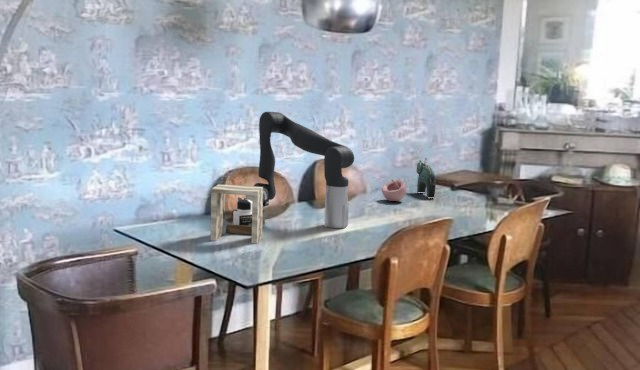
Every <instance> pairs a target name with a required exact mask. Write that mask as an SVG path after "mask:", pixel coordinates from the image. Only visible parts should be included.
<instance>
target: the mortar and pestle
mask: <svg viewBox="0 0 640 370" xmlns="http://www.w3.org/2000/svg"><path fill="white" fill-rule="evenodd" d="M381 193H382V195H383V197H384V198H385V200H387V201H388V202H391V201H397V202H399V201H402V200H403V199H404V198H405V196H406V195H407V186H406V183H405V181H403V180H400V179H395V180H394V179H391V180H390V181H389V182H387V183H385V184H384V185H383V186H382V188H381Z"/></svg>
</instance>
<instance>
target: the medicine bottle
mask: <svg viewBox="0 0 640 370" xmlns="http://www.w3.org/2000/svg"><path fill="white" fill-rule="evenodd" d="M236 202H237V203H236V210H234V211H233V212H232V213H233V217H232V220H233V224H234V225H247V226H252V201H250V200H239V201H238V200H237V201H236Z"/></svg>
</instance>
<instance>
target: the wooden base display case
mask: <svg viewBox="0 0 640 370" xmlns="http://www.w3.org/2000/svg"><path fill="white" fill-rule="evenodd" d="M245 198H246V200H250V201H252V195H245ZM265 225H266V219H263V218H262V228H263V227H264V226H265ZM225 233H226V234H227V233H228V234H240V235H241V234H243V235H252V226H247V225H234V224H233V221H231V222H230V223H229V224H227V223H226V225H225Z"/></svg>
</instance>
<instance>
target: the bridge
mask: <svg viewBox="0 0 640 370" xmlns="http://www.w3.org/2000/svg"><path fill="white" fill-rule="evenodd" d="M224 195H241V196H246V195H252V234H251V244H258V243H259V242H260V240H261V239H262V237H263V227H262V219H263V212H264V210H263V209H264V207H263V187H255V186H254V185H252V186H251V185H233V184H232V185H231V184H217V185H215V186H213V187H212V188H211V190H210V241H213V242H214V241H215V242H216V241H217V240H219V239H220V237H221V236H222V235H223V232H224V229H223V227H224V226H223V223H224V222H223V221H224V220H223V219H224Z"/></svg>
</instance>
